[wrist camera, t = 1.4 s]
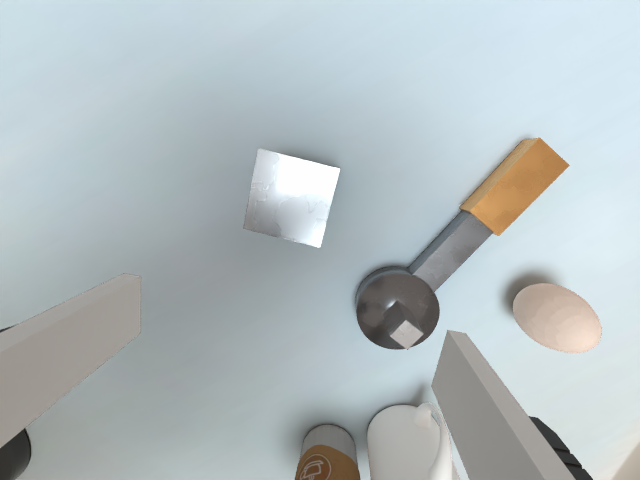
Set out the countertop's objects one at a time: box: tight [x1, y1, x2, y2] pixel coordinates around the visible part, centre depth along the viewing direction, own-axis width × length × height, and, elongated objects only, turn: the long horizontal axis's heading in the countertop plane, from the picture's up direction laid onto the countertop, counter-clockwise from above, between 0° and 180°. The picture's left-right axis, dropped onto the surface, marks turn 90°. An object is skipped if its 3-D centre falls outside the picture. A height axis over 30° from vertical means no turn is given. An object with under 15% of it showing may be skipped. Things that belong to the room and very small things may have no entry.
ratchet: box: [355, 138, 569, 350], centre depth 27 cm, size 8×24×6 cm, turn 141°
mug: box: [367, 402, 460, 480], centre depth 30 cm, size 9×12×11 cm
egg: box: [513, 283, 602, 353], centre depth 27 cm, size 6×6×8 cm
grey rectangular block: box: [243, 148, 340, 248], centre depth 26 cm, size 6×6×8 cm
